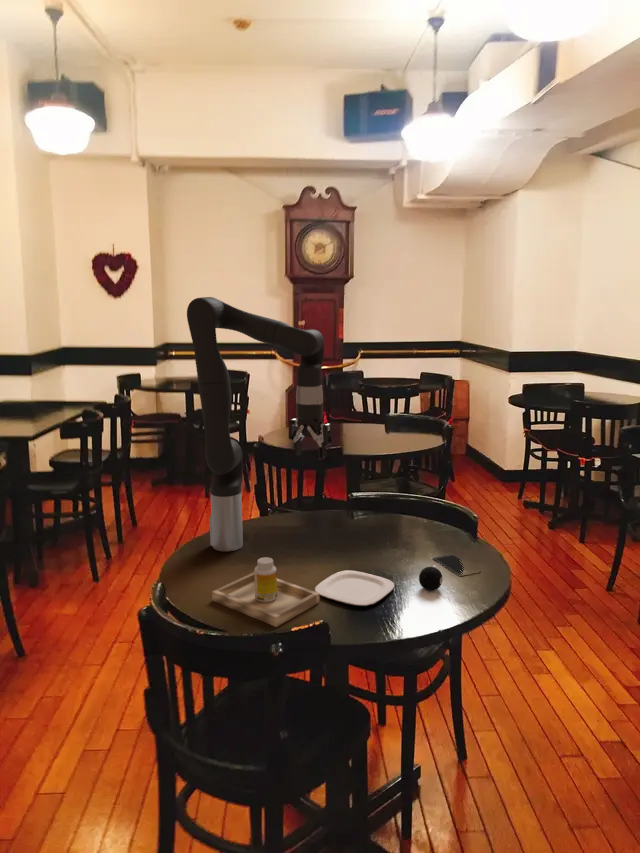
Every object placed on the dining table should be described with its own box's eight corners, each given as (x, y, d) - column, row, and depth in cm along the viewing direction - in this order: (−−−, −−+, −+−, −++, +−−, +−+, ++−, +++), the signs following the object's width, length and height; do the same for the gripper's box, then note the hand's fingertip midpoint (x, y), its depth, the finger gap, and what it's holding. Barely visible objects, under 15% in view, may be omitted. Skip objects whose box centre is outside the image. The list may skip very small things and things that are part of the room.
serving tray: (212, 600, 171) (212, 591, 171) (256, 579, 184) (256, 571, 183) (276, 627, 158) (276, 617, 157) (319, 602, 170) (319, 593, 169)
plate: (368, 614, 164) (368, 608, 164) (306, 596, 174) (306, 590, 174) (401, 587, 179) (401, 581, 179) (343, 572, 189) (343, 566, 189)
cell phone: (459, 578, 184) (459, 575, 184) (431, 560, 197) (431, 557, 197) (481, 573, 187) (481, 571, 187) (452, 555, 200) (452, 553, 200)
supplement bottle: (280, 600, 170) (279, 562, 167) (259, 605, 167) (258, 566, 165) (272, 591, 174) (271, 554, 172) (251, 596, 172) (250, 558, 170)
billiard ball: (437, 596, 173) (438, 574, 172) (415, 591, 176) (415, 569, 175) (445, 587, 178) (445, 565, 177) (423, 582, 181) (424, 561, 180)
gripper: (281, 400, 192) (282, 455, 195) (320, 405, 183) (321, 463, 186) (299, 397, 198) (299, 451, 201) (337, 401, 189) (337, 458, 192)
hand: (310, 457), depth 194 cm, fingers open, 8 cm apart
